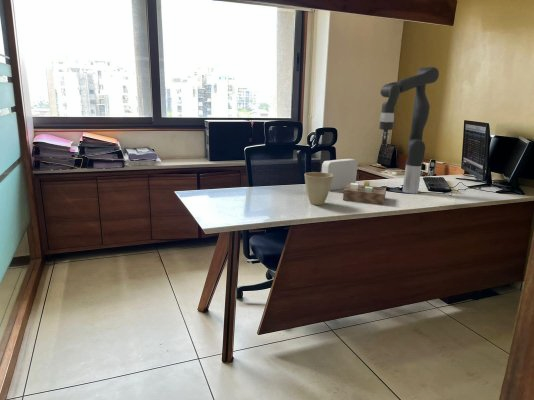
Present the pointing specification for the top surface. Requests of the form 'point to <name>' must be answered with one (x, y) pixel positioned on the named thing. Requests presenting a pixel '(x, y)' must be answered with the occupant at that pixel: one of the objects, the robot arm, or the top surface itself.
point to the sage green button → (368, 189)
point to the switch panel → (365, 195)
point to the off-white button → (353, 186)
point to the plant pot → (317, 186)
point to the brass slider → (367, 183)
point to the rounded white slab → (341, 172)
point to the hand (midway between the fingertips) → (383, 151)
